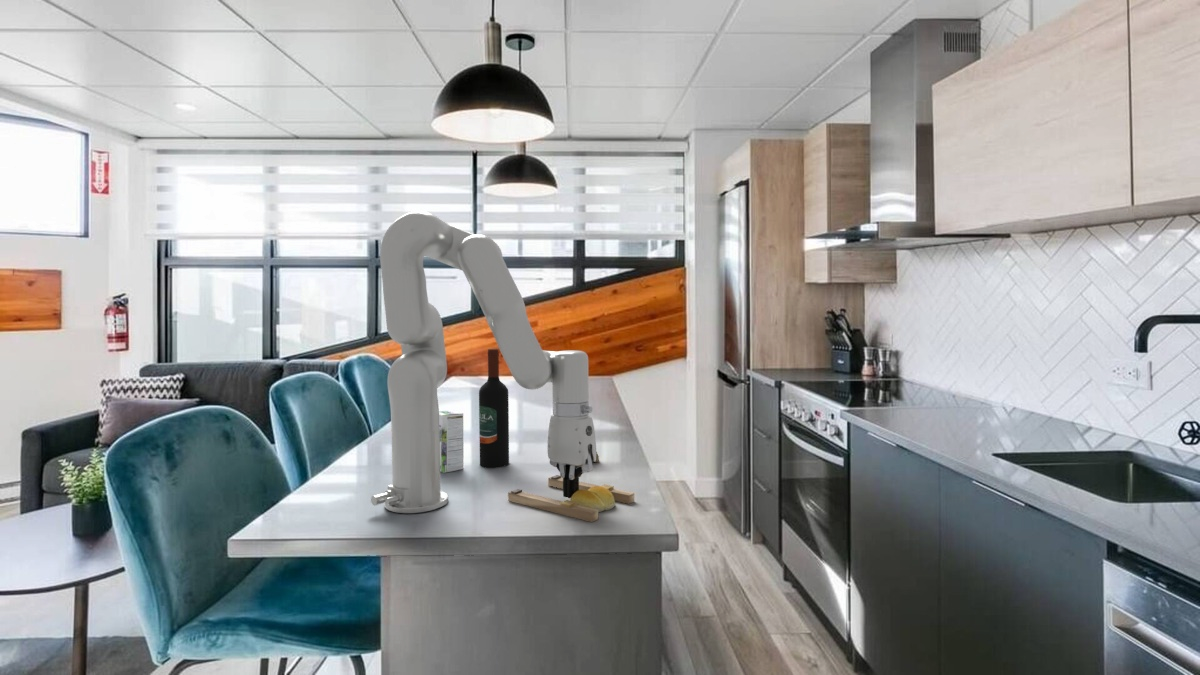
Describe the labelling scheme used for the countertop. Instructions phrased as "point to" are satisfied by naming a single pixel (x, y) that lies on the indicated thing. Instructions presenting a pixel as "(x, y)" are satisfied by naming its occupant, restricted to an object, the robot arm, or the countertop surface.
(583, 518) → the slot rails
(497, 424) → the wine bottle
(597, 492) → the bread roll
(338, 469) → the countertop surface
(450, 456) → the syrup box
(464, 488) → the countertop surface
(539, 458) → the countertop surface
